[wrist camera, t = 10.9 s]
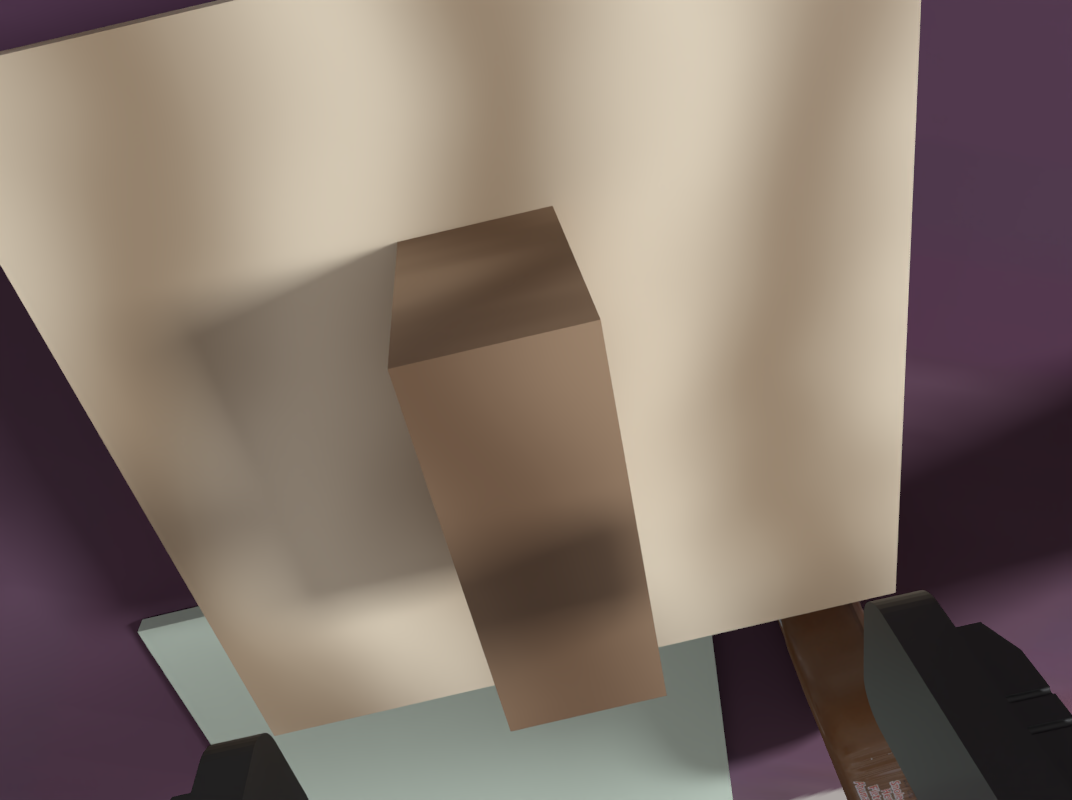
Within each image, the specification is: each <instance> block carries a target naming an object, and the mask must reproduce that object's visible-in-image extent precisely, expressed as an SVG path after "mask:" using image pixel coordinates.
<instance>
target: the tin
mask: <svg viewBox="0 0 1072 800" xmlns="http://www.w3.org/2000/svg"><path fill="white" fill-rule="evenodd" d="M778 623H779V625H780V628H781V630H782V633H783V635H784V638H785V641H786V646H787V649H788V652H789V654H790V657H791V660H792V662H793V665H794V667H795V670H796V673H797V676H798V678H799V681H800V683H801V686H802V689H803V691H804V694H805V696H806V699H807V701H808V704H809V706H810V709H811V711H812V713H813V716H814V718H815V721H816V723H817V726H818V728H819V730H820V733H821V735H822V738H823V740H824V743H825V746H826V748H827V751H828V753H829V756H830V758H831V760H832V763H833V765H834V768H835V770H836V773H837V775H838V778H839V780H840V783H841V785H842V787H843V790H844V792H845V795H846V797H847V800H917V798H916V796H915V794H914V792H913V790H912V788H911V787H910V785H909V783H908V781H907V779H906V777H905V775H904V773H903V772H902V770H901V768H900V766H899V764H898V762H897V760H896V758H895V757H894V755H893V753H892V751H891V749H890V747H889V745H888V744H887V742H886V740H885V738H884V736H883V734H882V732H881V730H880V728H879V726H878V724H877V722H876V720H875V718H874V715H873V713H872V710H871V707H870V705H869V701H868V698H867V694H866V690H865V684H864V611H863V609H862V606H861V604H860V602H859V601H857V602H853V603H849V604H844V605H840V606H836V607H832V608H827V609H823V610H819V611H814V612H810V613H806V614H801V615H797V616H793V617H788V618H784V619H780V620H778Z"/></svg>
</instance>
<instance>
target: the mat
mask: <svg viewBox="0 0 1072 800" xmlns="http://www.w3.org/2000/svg"><path fill="white" fill-rule="evenodd" d="M138 634H139V635H140V637H141V638H142V640H143V641H144V643H145V644H146V646H147V647H148V649H149V651H150V652H151V654H152V655H153V657H154V658H155V660H156V661H157V663H158V664H159V666H160V667H161V669H162V670H163V672H164V673H165V675H166V677H167V678H168V680H169V681H170V683H171V684H172V686H173V687H174V689H175V690H176V692H177V693H178V695H179V696H180V698H181V699H182V701H183V703H184V704H185V706H186V707H187V709H188V710H189V712H190V713H191V715H192V716H193V718H194V719H195V721H196V722H197V724H198V725H199V727H200V729H201V730H202V732H203V733H204V735H205V736H206V738H207V739H208V741H209V742H210V744H211V745H212V744H216V743H221V742H225V741H230V740H234V739H239V738H243V737H248V736H252V735H257V734H261V733H268V734H270V735H271V736H272V737H273V739H274V740H275V742H276V743H277V745H278V747H279V749H280V750H281V752H282V754H283V755H284V757H285V759H286V761H287V762H288V764H289V766H290V768H291V769H292V771H293V773H294V774H295V776H296V778H297V780H298V781H299V783H300V785H301V786H302V788H303V790H304V792H305V793H306V795H307V797H308V799H309V800H733V798H732V790H731V782H730V774H729V767H728V759H727V751H726V743H725V735H724V727H723V719H722V711H721V703H720V695H719V688H718V680H717V672H716V664H715V656H714V648H713V640H712V635H710V636H706V637H702V638H697V639H693V640H689V641H684V642H680V643H676V644H671V645H667V646H663V647H658V649H659V654H660V660H661V666H662V671H663V677H664V683H665V688H666V694H667V696H663V697H659V698H654V699H650V700H646V701H641V702H637V703H633V704H628V705H624V706H620V707H615V708H611V709H607V710H602V711H598V712H594V713H589V714H585V715H581V716H576V717H572V718H568V719H563V720H559V721H555V722H550V723H546V724H542V725H537V726H533V727H529V728H524V729H520V730H516V731H510V728H509V725H508V722H507V719H506V716H505V713H504V711H503V708H502V705H501V702H500V699H499V696H498V693H497V690H496V687H495V685H494V686H489V687H485V688H481V689H476V690H472V691H468V692H463V693H459V694H455V695H450V696H446V697H442V698H437V699H433V700H429V701H424V702H420V703H416V704H412V705H407V706H403V707H399V708H394V709H390V710H386V711H381V712H377V713H373V714H368V715H364V716H360V717H355V718H351V719H347V720H342V721H338V722H334V723H329V724H325V725H321V726H316V727H312V728H308V729H303V730H299V731H295V732H290V733H286V734H282V735H277V736H274V735H273V733H272V731H271V729H270V728H269V726H268V724H267V723H266V721H265V719H264V717H263V716H262V714H261V712H260V711H259V709H258V707H257V705H256V704H255V702H254V700H253V698H252V697H251V695H250V693H249V692H248V690H247V688H246V686H245V685H244V683H243V681H242V680H241V678H240V676H239V674H238V673H237V671H236V669H235V668H234V666H233V664H232V662H231V661H230V659H229V657H228V655H227V654H226V652H225V650H224V649H223V647H222V645H221V643H220V642H219V640H218V638H217V637H216V635H215V633H214V631H213V630H212V628H211V626H210V625H209V623H208V621H207V619H206V618H205V616H204V614H203V612H202V611H201V609H200V607H199V606H198V607H194V608H189V609H185V610H181V611H177V612H172V613H168V614H164V615H159V616H155V617H151V618H147V619H142V622H141V624H140V627H139V629H138Z"/></svg>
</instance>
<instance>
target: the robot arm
mask: <svg viewBox="0 0 1072 800" xmlns="http://www.w3.org/2000/svg"><path fill="white" fill-rule="evenodd" d="M864 684H865V690H866V694H867V698H868V701H869V705H870V707H871V710H872V713H873V715H874V718H875V720H876V722H877V724H878V726H879V728H880V730H881V732H882V734H883V736H884V738H885V740H886V742H887V744H888V745H889V747H890V749H891V751H892V753H893V755H894V757H895V758H896V760H897V762H898V764H899V766H900V768H901V770H902V772H903V773H904V775H905V777H906V779H907V781H908V783H909V785H910V787H911V788H912V790H913V792H914V794H915V796H916V798H917V800H1072V715H1071V713H1070V712H1069V711H1068V709H1067V708H1066V707H1065V706H1064V704H1063V703H1062V702H1061V700H1060V699H1059V698H1058V697H1057V695H1056V694H1052V693H1051V691H1050V686H1049V685H1048V684H1047V683H1046V681H1045V680H1044V679H1043V677H1042V676H1041V675H1040V674H1039V672H1038V671H1037V670H1036V668H1035V667H1034V666H1033V665H1032V663H1031V662H1030V661H1029V659H1028V658H1027V657H1026V656H1025V654H1024V653H1023V652H1022V650H1020V649H1019V648H1018V647H1016V646H1015V645H1013V644H1012V643H1010V642H1009V641H1007V640H1006V639H1004V638H1003V637H1001V636H1000V635H998V634H997V633H996V632H994V631H993V630H991V629H990V628H988V627H987V626H985V625H984V624H982V623H981V622H979V623H974V624H970V625H965V626H961V627H955V626H954V624H953V623H952V622H951V620H950V619H949V617H948V616H947V615H946V613H945V612H944V610H943V609H942V608H941V606H940V605H939V603H938V602H937V601H936V599H935V598H934V597H933V596H932V595H931V594H930V593H928V592H927V591H925V590H920V591H915V592H911V593H906V594H902V595H897V596H893V597H888V598H884V599H879V600H875V601H870V602H867V603H866V604H865V607H864ZM171 800H309V799H308V797H307V795H306V793H305V792H304V790H303V788H302V786H301V785H300V783H299V781H298V780H297V778H296V776H295V774H294V773H293V771H292V769H291V768H290V766H289V764H288V762H287V761H286V759H285V757H284V755H283V754H282V752H281V750H280V749H279V747H278V745H277V743H276V742H275V740H274V739H273V737H272V736H271V735H270V734H268V733H261V734H257V735H252V736H248V737H243V738H239V739H234V740H230V741H225V742H221V743H216V744H212V745H210V746H208V747H207V748H206V750H205V751H204V753H203V755H202V757H201V760H200V763H199V767H198V770H197V774H196V777H195V781H194V784H193V788H192V791H191V793H188V794H184V795H179V796H175V797H172V798H171Z"/></svg>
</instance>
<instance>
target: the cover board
mask: <svg viewBox="0 0 1072 800" xmlns="http://www.w3.org/2000/svg"><path fill="white" fill-rule="evenodd" d="M920 13H921V0H217V1H213V2H209V3H204V4H200V5H196V6H192V7H187V8H183V9H179V10H175V11H170V12H166V13H162V14H158V15H153V16H149V17H145V18H141V19H136V20H132V21H128V22H124V23H119V24H115V25H111V26H107V27H102V28H98V29H94V30H90V31H85V32H81V33H77V34H73V35H68V36H64V37H60V38H56V39H51V40H47V41H43V42H39V43H34V44H30V45H26V46H22V47H17V48H13V49H9V50H5V51H0V265H1V267H2V268H3V270H4V272H5V274H6V275H7V277H8V279H9V280H10V282H11V284H12V286H13V287H14V289H15V291H16V292H17V294H18V296H19V298H20V299H21V301H22V303H23V305H24V306H25V308H26V310H27V311H28V313H29V315H30V317H31V318H32V320H33V322H34V323H35V325H36V327H37V329H38V330H39V332H40V334H41V335H42V337H43V339H44V341H45V342H46V344H47V346H48V348H49V349H50V351H51V353H52V354H53V356H54V358H55V360H56V361H57V363H58V365H59V366H60V368H61V370H62V372H63V373H64V375H65V377H66V379H67V380H68V382H69V384H70V385H71V387H72V389H73V391H74V392H75V394H76V396H77V397H78V399H79V401H80V403H81V404H82V406H83V408H84V409H85V411H86V413H87V415H88V416H89V418H90V420H91V422H92V423H93V425H94V427H95V428H96V430H97V432H98V434H99V435H100V437H101V439H102V440H103V442H104V444H105V446H106V447H107V449H108V451H109V452H110V454H111V456H112V458H113V459H114V461H115V463H116V465H117V466H118V468H119V470H120V471H121V473H122V475H123V477H124V478H125V480H126V482H127V483H128V485H129V487H130V489H131V490H132V492H133V494H134V495H135V497H136V499H137V501H138V502H139V504H140V506H141V508H142V509H143V511H144V513H145V514H146V516H147V518H148V520H149V521H150V523H151V525H152V526H153V528H154V530H155V532H156V533H157V535H158V537H159V538H160V540H161V542H162V544H163V545H164V547H165V549H166V551H167V552H168V554H169V556H170V557H171V559H172V561H173V563H174V564H175V566H176V568H177V569H178V571H179V573H180V575H181V576H182V578H183V580H184V582H185V583H186V585H187V587H188V588H189V590H190V592H191V594H192V595H193V597H194V599H195V600H196V602H197V604H198V606H199V607H200V609H201V611H202V612H203V614H204V616H205V618H206V619H207V621H208V623H209V625H210V626H211V628H212V630H213V631H214V633H215V635H216V637H217V638H218V640H219V642H220V643H221V645H222V647H223V649H224V650H225V652H226V654H227V655H228V657H229V659H230V661H231V662H232V664H233V666H234V668H235V669H236V671H237V673H238V674H239V676H240V678H241V680H242V681H243V683H244V685H245V686H246V688H247V690H248V692H249V693H250V695H251V697H252V698H253V700H254V702H255V704H256V705H257V707H258V709H259V711H260V712H261V714H262V716H263V717H264V719H265V721H266V723H267V724H268V726H269V728H270V729H271V731H272V733H273V735H274V736H277V735H282V734H286V733H290V732H295V731H299V730H303V729H308V728H312V727H316V726H321V725H325V724H329V723H334V722H338V721H342V720H347V719H351V718H355V717H360V716H364V715H368V714H373V713H377V712H381V711H386V710H390V709H394V708H399V707H403V706H407V705H412V704H416V703H420V702H424V701H429V700H433V699H437V698H442V697H446V696H450V695H455V694H459V693H463V692H468V691H472V690H476V689H481V688H485V687H489V686H494V685H495V687H496V690H497V693H498V696H499V699H500V702H501V705H502V708H503V711H504V713H505V716H506V719H507V722H508V725H509V728H510V731H516V730H520V729H524V728H529V727H533V726H537V725H542V724H546V723H550V722H555V721H559V720H563V719H568V718H572V717H576V716H581V715H585V714H589V713H594V712H598V711H602V710H607V709H611V708H615V707H620V706H624V705H628V704H633V703H637V702H641V701H646V700H650V699H654V698H659V697H663V696H667V694H666V688H665V683H664V677H663V671H662V666H661V660H660V654H659V649H658V647H663V646H667V645H671V644H676V643H680V642H684V641H689V640H693V639H697V638H702V637H706V636H710V635H715V634H719V633H723V632H728V631H732V630H736V629H741V628H745V627H749V626H754V625H758V624H762V623H767V622H771V621H775V620H780V619H784V618H788V617H793V616H797V615H801V614H806V613H810V612H814V611H819V610H823V609H827V608H832V607H836V606H840V605H844V604H849V603H853V602H857V601H862V600H866V599H870V598H875V597H879V596H883V595H888V594H892V593H896V571H897V548H898V524H899V501H900V478H901V455H902V431H903V408H904V385H905V362H906V338H907V315H908V292H909V269H910V245H911V222H912V199H913V176H914V152H915V129H916V106H917V83H918V59H919V36H920Z"/></svg>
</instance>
